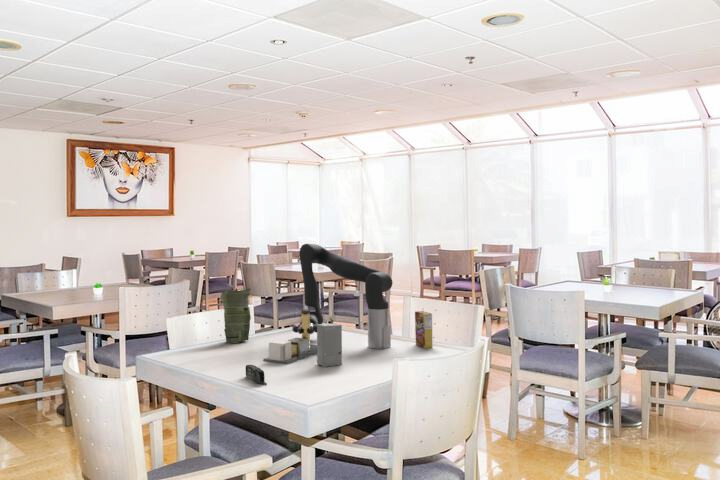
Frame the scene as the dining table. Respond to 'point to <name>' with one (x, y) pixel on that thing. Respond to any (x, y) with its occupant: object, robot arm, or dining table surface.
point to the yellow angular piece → (303, 331)
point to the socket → (280, 350)
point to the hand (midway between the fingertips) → (305, 331)
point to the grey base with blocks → (302, 351)
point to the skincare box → (329, 344)
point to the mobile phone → (255, 374)
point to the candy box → (423, 329)
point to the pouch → (236, 315)
